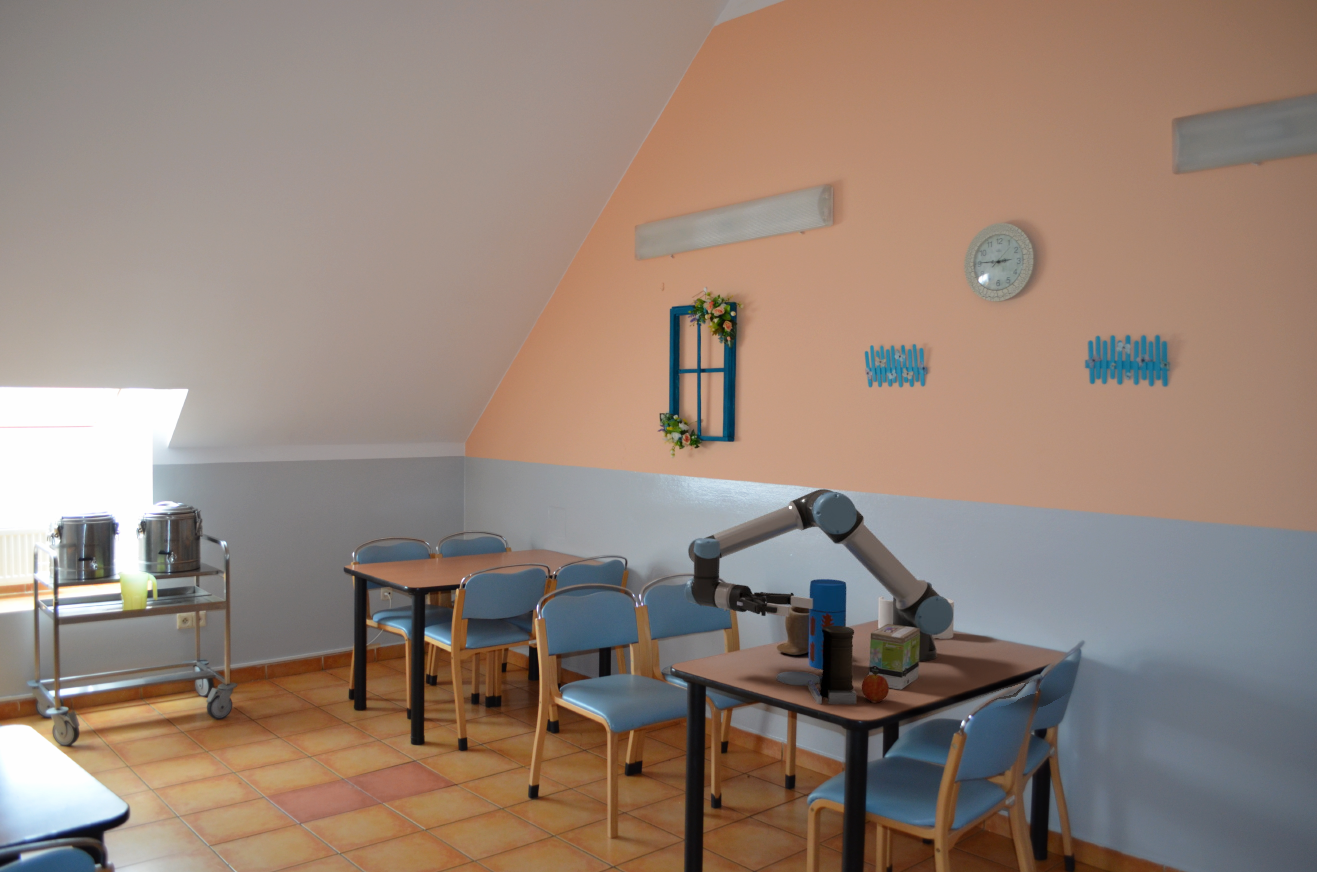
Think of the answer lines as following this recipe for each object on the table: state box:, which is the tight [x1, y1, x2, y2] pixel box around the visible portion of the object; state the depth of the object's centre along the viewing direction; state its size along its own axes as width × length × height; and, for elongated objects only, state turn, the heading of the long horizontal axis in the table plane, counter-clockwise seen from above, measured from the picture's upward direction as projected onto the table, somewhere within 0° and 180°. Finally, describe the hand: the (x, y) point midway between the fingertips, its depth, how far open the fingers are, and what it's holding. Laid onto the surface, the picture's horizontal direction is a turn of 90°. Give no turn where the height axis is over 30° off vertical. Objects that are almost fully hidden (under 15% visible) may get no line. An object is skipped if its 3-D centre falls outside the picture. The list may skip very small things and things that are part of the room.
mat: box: [776, 670, 819, 687], centre depth 269 cm, size 12×12×1 cm
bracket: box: [877, 596, 955, 640], centre depth 324 cm, size 25×10×12 cm, turn 84°
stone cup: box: [775, 606, 809, 656], centre depth 298 cm, size 15×12×15 cm
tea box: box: [868, 624, 920, 691], centre depth 268 cm, size 15×10×15 cm, turn 148°
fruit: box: [861, 671, 890, 703], centre depth 249 cm, size 7×7×8 cm
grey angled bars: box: [807, 675, 857, 705], centre depth 254 cm, size 10×15×3 cm, turn 1°
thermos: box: [808, 578, 847, 671], centre depth 283 cm, size 11×11×25 cm
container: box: [819, 626, 855, 700], centre depth 253 cm, size 9×9×18 cm
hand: (800, 607), depth 259 cm, fingers open, 13 cm apart
